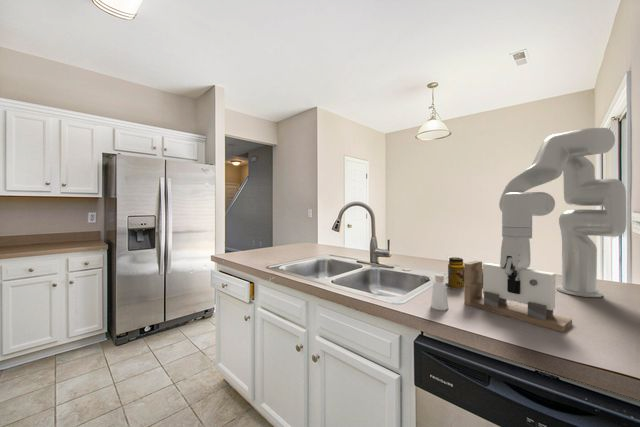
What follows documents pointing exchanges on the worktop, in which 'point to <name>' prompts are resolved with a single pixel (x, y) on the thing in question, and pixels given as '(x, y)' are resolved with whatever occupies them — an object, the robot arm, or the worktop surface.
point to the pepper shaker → (439, 293)
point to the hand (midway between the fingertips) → (516, 291)
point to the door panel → (521, 285)
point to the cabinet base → (499, 305)
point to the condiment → (455, 273)
